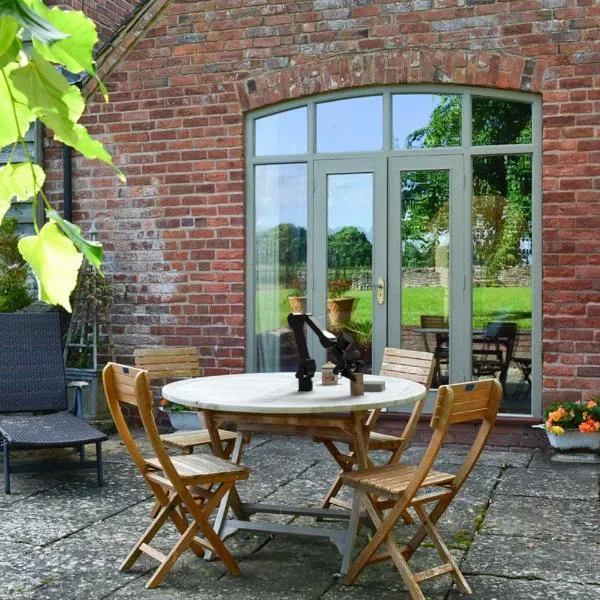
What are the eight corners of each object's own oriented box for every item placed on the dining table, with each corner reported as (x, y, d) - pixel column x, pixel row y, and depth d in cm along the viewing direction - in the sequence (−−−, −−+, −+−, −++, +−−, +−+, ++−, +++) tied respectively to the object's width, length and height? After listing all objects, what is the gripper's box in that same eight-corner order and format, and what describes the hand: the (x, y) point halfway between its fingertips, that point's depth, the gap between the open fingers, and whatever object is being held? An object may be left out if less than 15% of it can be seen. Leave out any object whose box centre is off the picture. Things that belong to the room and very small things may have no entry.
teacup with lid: (319, 384, 446) (318, 362, 446) (324, 382, 455) (323, 360, 455) (341, 384, 443) (340, 362, 442) (345, 382, 451) (345, 360, 451)
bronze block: (350, 394, 398) (349, 373, 398) (356, 393, 401) (355, 372, 401) (357, 395, 395) (357, 374, 395) (363, 394, 398) (363, 373, 398)
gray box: (357, 392, 411) (357, 384, 411) (361, 389, 423) (361, 381, 423) (381, 392, 409) (381, 384, 408) (385, 389, 420) (385, 381, 420)
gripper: (336, 346, 394) (355, 371, 386) (361, 343, 407) (380, 367, 400) (324, 362, 399) (342, 387, 392) (349, 359, 413) (368, 383, 405)
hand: (358, 380), depth 397 cm, fingers closed on bronze block, 4 cm apart
